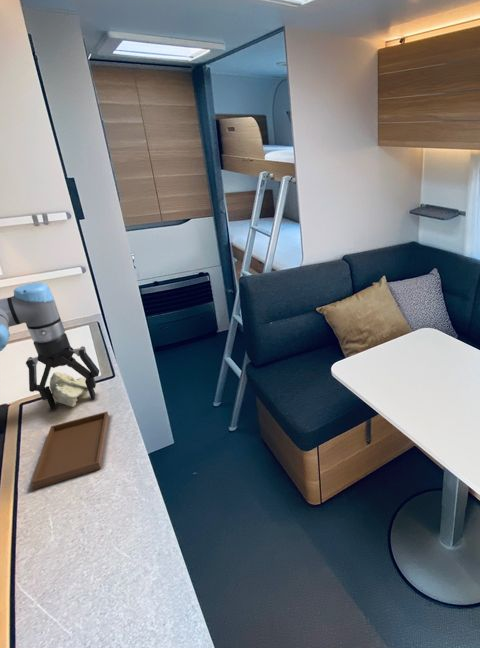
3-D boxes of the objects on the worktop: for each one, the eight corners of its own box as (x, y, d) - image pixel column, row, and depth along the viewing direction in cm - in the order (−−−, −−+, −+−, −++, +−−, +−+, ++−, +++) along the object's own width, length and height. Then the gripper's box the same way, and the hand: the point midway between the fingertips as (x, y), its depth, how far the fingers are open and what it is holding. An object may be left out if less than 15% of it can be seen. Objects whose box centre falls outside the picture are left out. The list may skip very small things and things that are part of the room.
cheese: (67, 392, 132) (21, 389, 118) (81, 372, 133) (37, 367, 119) (98, 417, 127) (54, 417, 113) (112, 396, 128) (70, 394, 114)
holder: (34, 489, 94) (31, 482, 93) (53, 432, 112) (51, 426, 111) (100, 468, 100) (98, 462, 99) (109, 417, 117) (107, 411, 116)
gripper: (-5, 352, 107) (25, 420, 116) (93, 333, 116) (114, 398, 125) (4, 340, 114) (31, 405, 122) (97, 322, 122) (116, 385, 131)
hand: (73, 401), depth 124 cm, fingers open, 9 cm apart
